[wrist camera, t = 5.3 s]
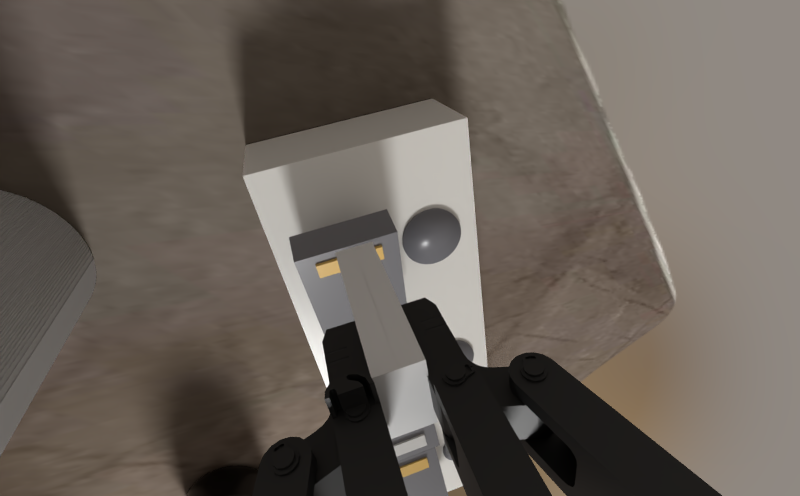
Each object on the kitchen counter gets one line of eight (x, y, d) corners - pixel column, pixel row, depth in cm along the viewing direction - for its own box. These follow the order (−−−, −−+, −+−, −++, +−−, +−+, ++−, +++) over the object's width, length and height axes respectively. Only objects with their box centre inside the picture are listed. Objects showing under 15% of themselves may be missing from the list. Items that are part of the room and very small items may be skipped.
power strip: (366, 466, 40) (381, 530, 36) (245, 145, 23) (242, 183, 18) (472, 425, 42) (500, 481, 37) (432, 98, 25) (475, 121, 20)
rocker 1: (323, 322, 24) (329, 348, 23) (288, 237, 19) (294, 264, 18) (400, 298, 25) (410, 322, 24) (386, 208, 20) (398, 233, 18)
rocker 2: (367, 453, 28) (371, 473, 26) (338, 364, 26) (340, 379, 24) (432, 428, 29) (440, 446, 27) (409, 340, 27) (416, 353, 25)
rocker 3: (394, 527, 33) (398, 546, 32) (370, 455, 31) (374, 472, 30) (448, 505, 34) (456, 523, 32) (429, 433, 32) (435, 448, 30)
